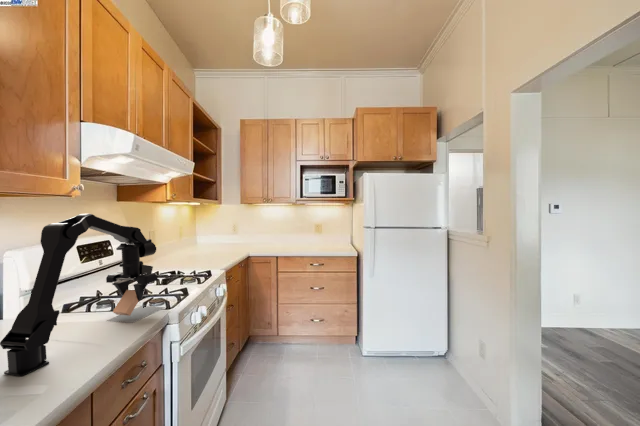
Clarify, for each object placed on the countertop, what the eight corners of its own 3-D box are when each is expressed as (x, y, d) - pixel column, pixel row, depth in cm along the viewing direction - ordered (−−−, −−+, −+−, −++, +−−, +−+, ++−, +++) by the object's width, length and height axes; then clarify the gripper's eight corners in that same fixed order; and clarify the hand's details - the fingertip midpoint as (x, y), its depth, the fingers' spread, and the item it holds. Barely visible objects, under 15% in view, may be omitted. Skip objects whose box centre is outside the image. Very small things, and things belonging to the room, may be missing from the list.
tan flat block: (125, 312, 106) (139, 290, 112) (112, 311, 107) (126, 289, 113) (130, 315, 108) (143, 293, 114) (116, 314, 109) (130, 292, 115)
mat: (132, 324, 105) (132, 323, 105) (105, 322, 108) (105, 320, 108) (165, 308, 121) (165, 307, 121) (141, 306, 123) (141, 305, 123)
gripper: (167, 256, 118) (168, 294, 118) (129, 255, 122) (131, 292, 123) (144, 262, 107) (146, 303, 107) (104, 261, 111) (106, 301, 112)
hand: (133, 299), depth 113 cm, fingers closed on tan flat block, 6 cm apart
